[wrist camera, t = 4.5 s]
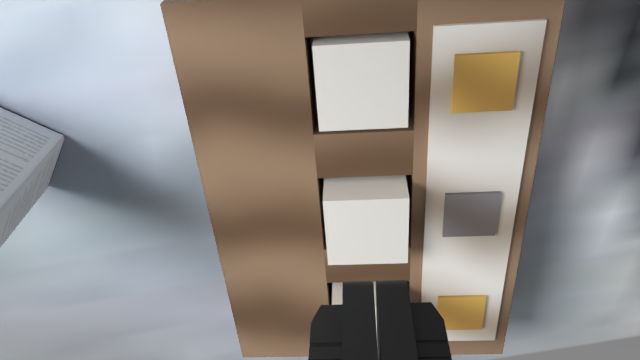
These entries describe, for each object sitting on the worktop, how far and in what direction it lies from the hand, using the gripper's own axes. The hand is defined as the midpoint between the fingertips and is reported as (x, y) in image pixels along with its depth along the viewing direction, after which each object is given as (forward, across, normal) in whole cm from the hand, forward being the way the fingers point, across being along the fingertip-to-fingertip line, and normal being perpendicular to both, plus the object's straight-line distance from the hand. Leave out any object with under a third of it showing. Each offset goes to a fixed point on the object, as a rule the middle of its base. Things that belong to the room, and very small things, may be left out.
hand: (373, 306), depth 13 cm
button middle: (+13, 0, +7) cm, 15 cm away
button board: (+17, 0, +7) cm, 18 cm away
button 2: (+14, 0, 0) cm, 14 cm away
